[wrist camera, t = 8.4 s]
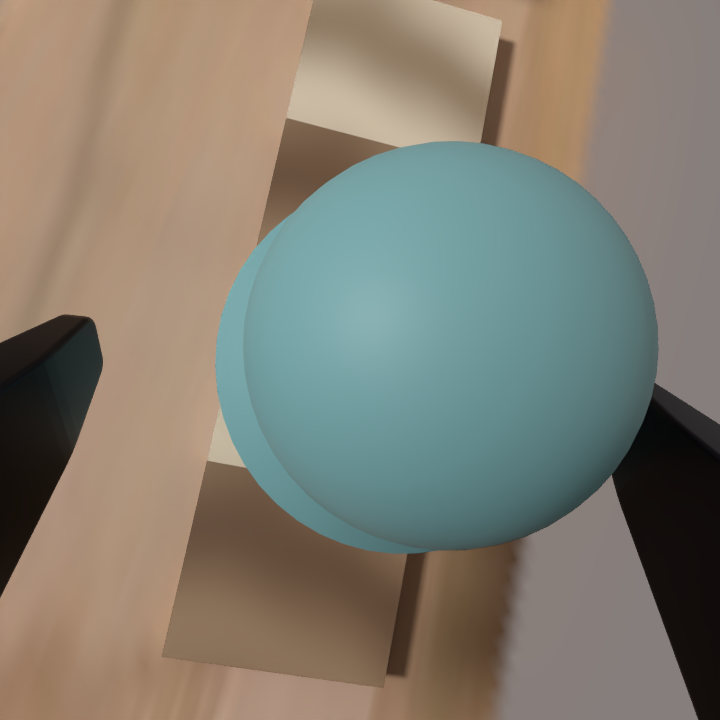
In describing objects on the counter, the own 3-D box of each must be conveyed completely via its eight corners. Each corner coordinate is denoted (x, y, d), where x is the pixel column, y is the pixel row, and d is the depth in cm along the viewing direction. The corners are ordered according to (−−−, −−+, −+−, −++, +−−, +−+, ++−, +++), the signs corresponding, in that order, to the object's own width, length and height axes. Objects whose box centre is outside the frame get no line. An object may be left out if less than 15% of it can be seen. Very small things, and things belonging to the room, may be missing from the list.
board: (379, 674, 16) (383, 688, 16) (168, 644, 16) (161, 656, 15) (493, 36, 19) (502, 20, 19) (320, -15, 19) (321, -33, 18)
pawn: (348, 490, 16) (655, 980, 2) (234, 409, 16) (-181, 420, 2) (425, 376, 17) (1014, 235, 3) (317, 298, 17) (413, -243, 3)
